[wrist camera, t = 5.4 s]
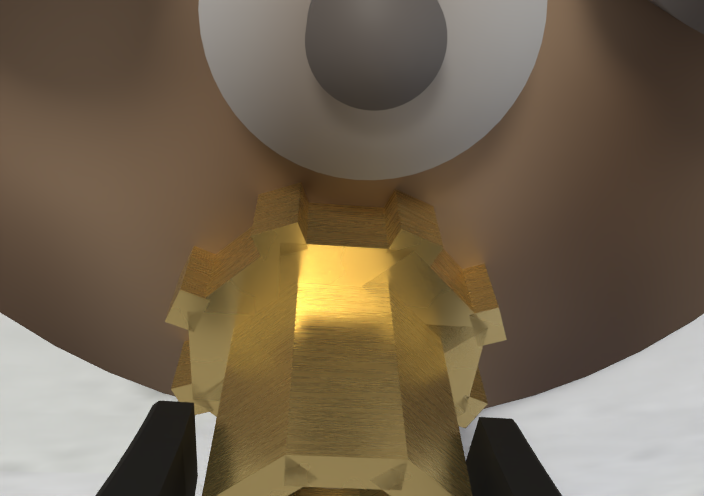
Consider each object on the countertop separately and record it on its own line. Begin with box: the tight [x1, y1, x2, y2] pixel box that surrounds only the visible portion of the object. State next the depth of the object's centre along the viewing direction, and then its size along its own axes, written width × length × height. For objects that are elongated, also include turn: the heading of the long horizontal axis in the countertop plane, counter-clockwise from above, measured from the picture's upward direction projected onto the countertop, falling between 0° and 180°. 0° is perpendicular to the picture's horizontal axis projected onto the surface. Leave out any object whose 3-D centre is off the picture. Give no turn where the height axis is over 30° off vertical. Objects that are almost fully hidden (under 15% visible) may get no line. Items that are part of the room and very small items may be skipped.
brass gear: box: [165, 183, 507, 496], centre depth 13 cm, size 7×7×6 cm
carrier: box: [0, 0, 704, 489], centre depth 10 cm, size 21×21×6 cm
